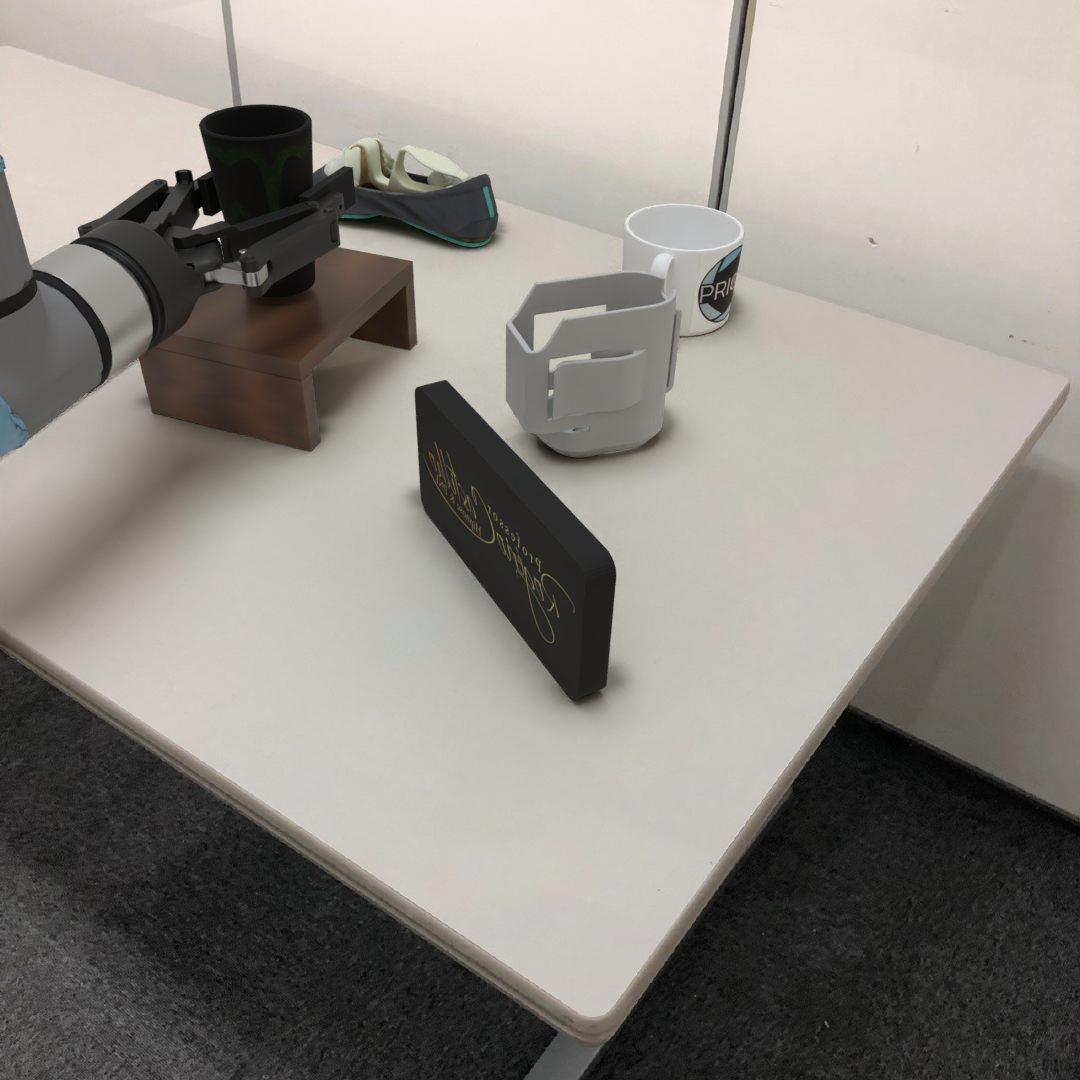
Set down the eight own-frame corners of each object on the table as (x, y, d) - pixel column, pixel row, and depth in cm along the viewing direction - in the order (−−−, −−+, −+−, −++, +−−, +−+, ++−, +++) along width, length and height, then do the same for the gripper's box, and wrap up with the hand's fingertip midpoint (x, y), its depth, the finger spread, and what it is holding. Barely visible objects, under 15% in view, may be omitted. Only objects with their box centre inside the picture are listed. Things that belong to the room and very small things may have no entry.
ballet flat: (324, 186, 119) (316, 111, 114) (515, 229, 111) (515, 150, 105) (278, 211, 113) (267, 133, 108) (476, 259, 105) (474, 177, 100)
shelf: (151, 412, 82) (130, 324, 77) (276, 313, 95) (264, 232, 90) (311, 451, 78) (298, 362, 73) (417, 342, 91) (412, 260, 87)
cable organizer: (502, 432, 81) (502, 286, 73) (651, 406, 84) (665, 263, 76) (530, 481, 76) (533, 330, 68) (687, 451, 79) (707, 304, 72)
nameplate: (605, 695, 60) (618, 560, 54) (577, 707, 59) (586, 572, 53) (446, 499, 74) (440, 373, 68) (421, 507, 73) (413, 380, 67)
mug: (636, 278, 102) (643, 196, 97) (743, 298, 99) (756, 214, 94) (591, 340, 92) (596, 252, 87) (709, 364, 90) (721, 274, 84)
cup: (265, 253, 85) (241, 98, 78) (347, 271, 83) (332, 112, 75) (206, 292, 80) (175, 128, 72) (293, 311, 77) (270, 145, 70)
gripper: (-12, 326, 69) (195, 204, 86) (262, 388, 64) (425, 245, 80) (-49, 214, 64) (177, 108, 81) (242, 271, 59) (420, 145, 76)
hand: (300, 176), depth 81 cm, fingers closed on cup, 8 cm apart
